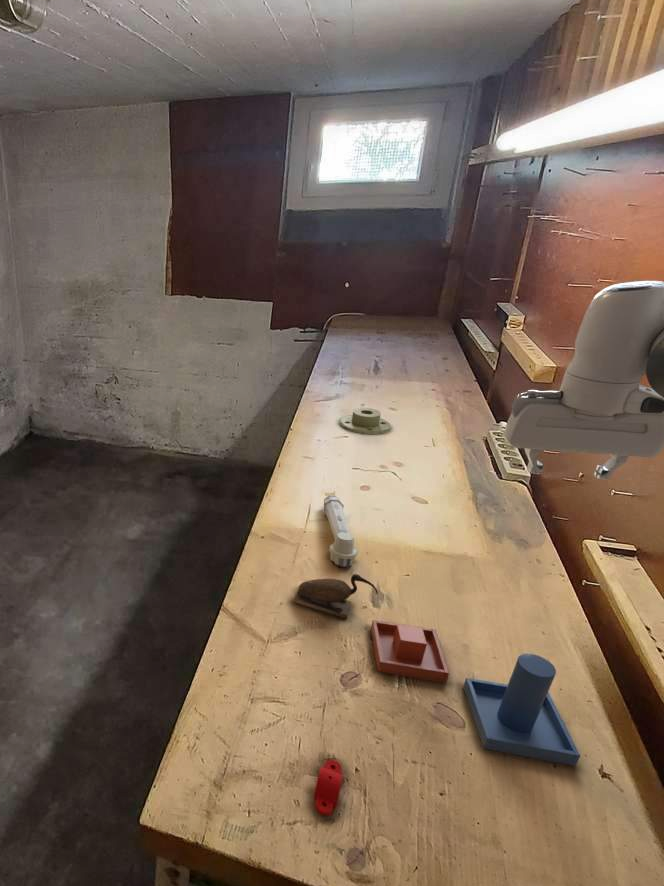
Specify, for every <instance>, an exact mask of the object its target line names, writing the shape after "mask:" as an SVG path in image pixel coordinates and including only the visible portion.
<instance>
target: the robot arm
mask: <svg viewBox="0 0 664 886" xmlns="http://www.w3.org/2000/svg"><path fill="white" fill-rule="evenodd" d="M580 323H581V324H580V326H579V329H578V332H577V335H576V338H575V342H574V347H575V348H574V354H573V357H572V359H571V361H570V362H569V363H568V364H567V366H566V368H565V372H564V375H563V378H562V380H561V384H560V387H559V390H538V389H529V390H527V391H526V392H522V393H519V394H518V395H517V396H515V397H514V399H513V402H512V405H511V409H510V410H511V414H510V415H509V418H508V420H507V422H506V424H505V427H504V430H503V433H502V436H503V439H504V440H505V442H506V443H507V444H508V445H509V446H510V447H512V448H513V449H523V450H524V453H525V456H526V457H527V460H528V462H527V466H526V472H528V474H533V475H541V474H542V472H543V471H542V470H543V469H544V464H543V463H542V462H541V460H538V459H537V458H536V456H539V455H540V454H541V450H542V451H554V452H567V453H568V452H569V453H582V454H598V455H609V456H610V458H609V459H608V460H607V461H606V462H604V464H596V467H595V470H594V472H593V476H594V477H595V478H596V479H597V480H607V481H608V480H610V479H611V477H612V475H613V472H614V471H616V470H617V469H618V468H620V467H621V466H622V465H624V464H625V463H626V462H627V460H628V458H629V457H637V458H653V457H655V456H657V455H659V454H660V453H661V452H662V451H663V449H664V281H662V280H635V281H633V280H632V281H625V282H620V283H615V284H612V285H609V286H607V287H605V288H603V289H602V290H600V291H599V292H598V293H596V294H595V296H594V297H593V298H592V299H591V301H590V303H589V305H588V307H587V309H586V311H585V313H584V316H583V319H582V321H581V322H580ZM644 376H645V377H646V379H647V382H648V384H649V386H650V387H651V388H650V387H648V386H646V385H642V384H641V382H642V380H643V377H644Z"/></svg>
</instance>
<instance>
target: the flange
mask: <svg viewBox="0 0 664 886" xmlns="http://www.w3.org/2000/svg"><path fill="white" fill-rule="evenodd" d="M381 415H382V413H381V411H379V410H378V409H375V408H371V407H357V408H354V409H353V410H352V414H351V415H346V416H343V417H342V418H341V419H340V426H341V427H342V428H343V429H345V430H347V431H349V432H353V433H356V434H363V435H381V434H385V433H387V432H388V431H389V430H390V428H391V427H390V425H391V424H390V422H388V421H387V420H386V419H383V418H381Z"/></svg>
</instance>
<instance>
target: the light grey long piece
mask: <svg viewBox="0 0 664 886" xmlns="http://www.w3.org/2000/svg"><path fill="white" fill-rule="evenodd" d="M344 507H345V506H344V504H343V502H341V500H340V499H339V498H338V497H337V495H328V496H327V497H325V498H324V499H323V512H324V513H325V514H326V517H327V520H328V523H329V525H330V528H331V531H332V534H333V537H334V542H333V543H331V544H330V545H329V552H330V557H329V559H330V561H331V562H334V565H337V566H339V567H351V566H352V564H354V563H355V558H356V557H357V555H358V551H357V550H358V549H357V548H356V547H355V539H354V536H353V534H351V533H350V532H349V527H348V524H347V519H346V516H345V512H344Z"/></svg>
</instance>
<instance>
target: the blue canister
mask: <svg viewBox="0 0 664 886" xmlns="http://www.w3.org/2000/svg"><path fill="white" fill-rule="evenodd" d="M556 674H557V669H556V667H555V666H554V664H553V663H551V662H550V661H549V660H548V659H546V658H545V657H543V656H541V655H537V654H534V653H521V654H519V656H517V659H516V662H515V664H514V667H513V671H512V673H511V675H510V679H509V681H508V683H507V685H508V686H507V689H506V691H505V694H504V697H503V699H502V702H501V705H500V707H499V710H498V713H497V714H498V718H499V720H500V721H501V722H502V723H503V724H504V725H505V726H506V727H508V728H509V729H511V730H513V731H516V732H519V733H528V732H530V731H531V730H532V729H533V727H534V724H535V722H536V719H537V717H538V715H539V712H540V710H541V708H542V705H543V703H544V700H545V698H546V696H547V693H548V692H549V690H550V689H551V686H552V684H553V682H554V679H555V677H556Z"/></svg>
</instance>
